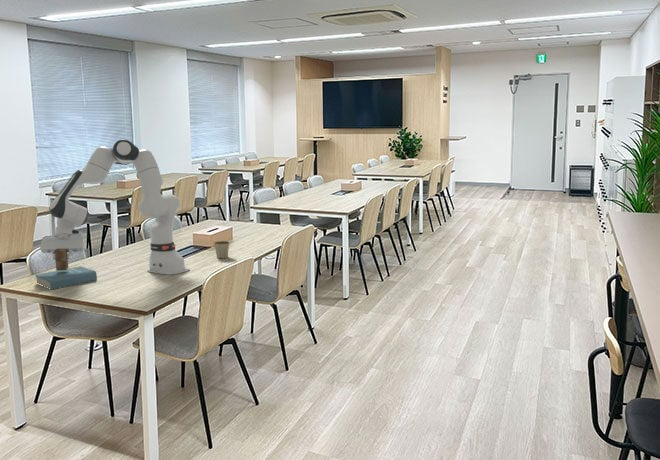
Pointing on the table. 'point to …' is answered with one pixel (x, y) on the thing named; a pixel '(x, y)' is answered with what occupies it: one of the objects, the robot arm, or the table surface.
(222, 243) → the flower pot
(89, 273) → the book
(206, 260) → the table surface
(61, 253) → the walnut block
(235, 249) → the table surface
